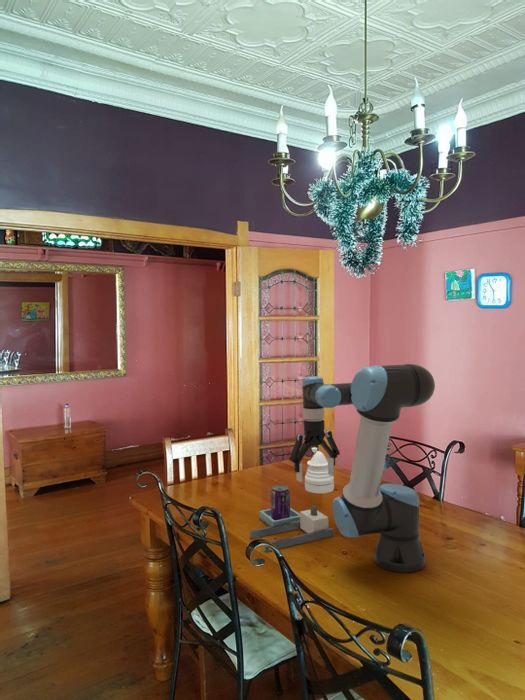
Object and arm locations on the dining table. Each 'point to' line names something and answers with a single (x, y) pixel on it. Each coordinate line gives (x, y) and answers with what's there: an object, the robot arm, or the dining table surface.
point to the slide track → (291, 540)
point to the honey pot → (318, 474)
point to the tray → (266, 518)
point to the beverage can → (280, 502)
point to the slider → (313, 520)
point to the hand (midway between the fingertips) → (315, 478)
